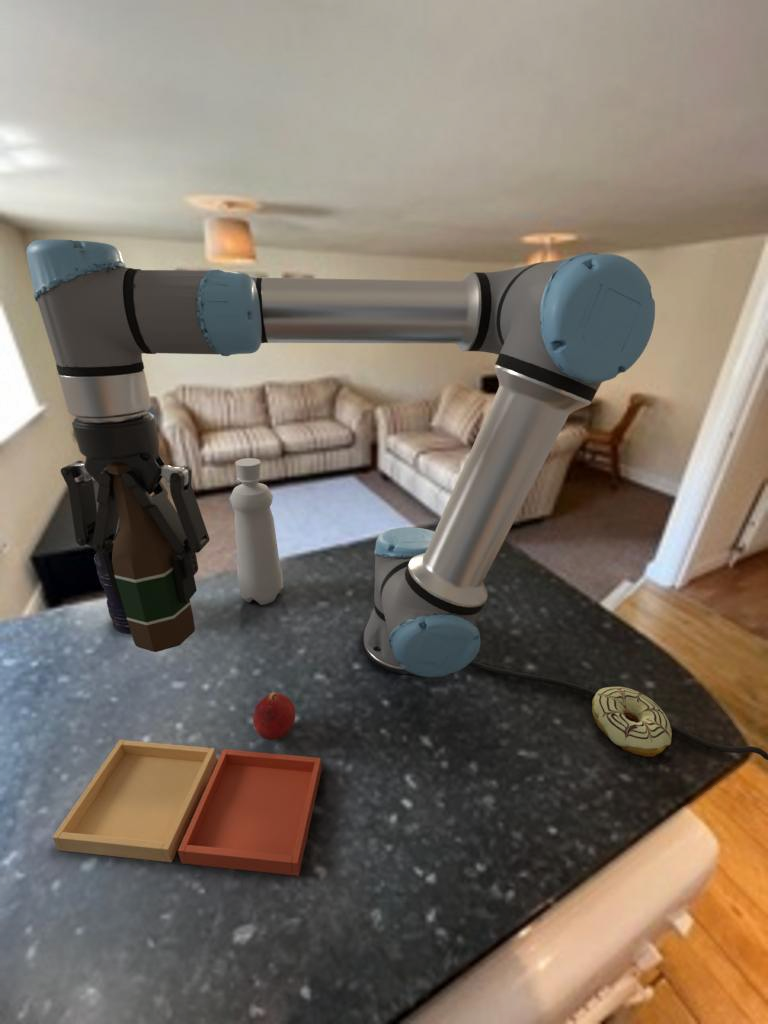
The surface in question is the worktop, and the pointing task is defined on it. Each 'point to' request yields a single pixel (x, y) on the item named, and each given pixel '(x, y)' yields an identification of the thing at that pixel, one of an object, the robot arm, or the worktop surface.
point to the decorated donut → (637, 736)
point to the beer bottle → (146, 574)
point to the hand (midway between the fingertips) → (156, 594)
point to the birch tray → (138, 802)
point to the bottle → (255, 536)
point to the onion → (274, 716)
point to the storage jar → (112, 601)
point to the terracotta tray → (254, 813)
